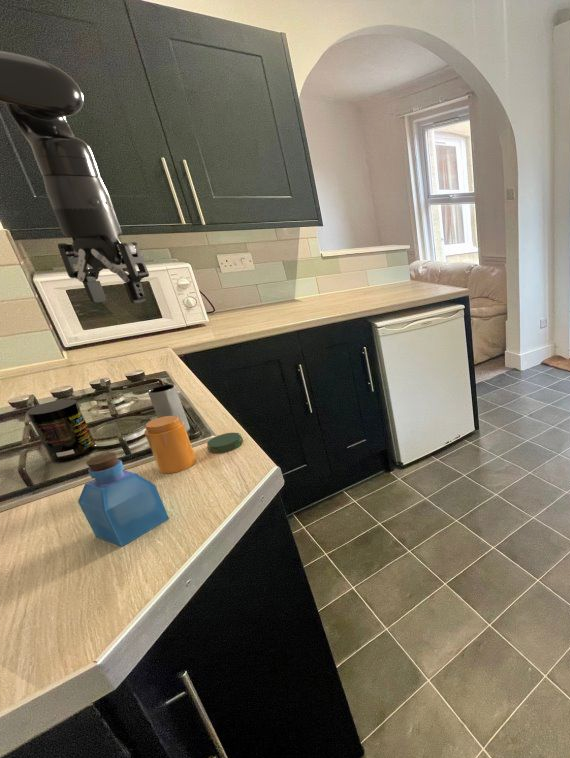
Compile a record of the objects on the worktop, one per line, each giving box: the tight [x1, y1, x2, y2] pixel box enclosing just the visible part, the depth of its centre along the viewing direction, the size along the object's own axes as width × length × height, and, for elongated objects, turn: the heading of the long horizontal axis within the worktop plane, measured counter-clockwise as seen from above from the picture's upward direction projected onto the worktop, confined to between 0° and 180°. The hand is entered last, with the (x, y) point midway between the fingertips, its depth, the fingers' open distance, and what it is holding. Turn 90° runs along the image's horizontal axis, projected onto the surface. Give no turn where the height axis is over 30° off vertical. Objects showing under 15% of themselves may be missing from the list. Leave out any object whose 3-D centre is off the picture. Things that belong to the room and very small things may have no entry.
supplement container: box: [26, 398, 97, 463], centre depth 81 cm, size 7×7×10 cm
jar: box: [143, 416, 197, 474], centre depth 77 cm, size 6×6×9 cm
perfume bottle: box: [77, 451, 170, 548], centre depth 60 cm, size 6×6×12 cm
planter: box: [147, 383, 191, 432], centre depth 89 cm, size 4×4×10 cm
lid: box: [206, 432, 244, 454], centre depth 84 cm, size 6×6×2 cm
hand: (118, 302), depth 77 cm, fingers open, 8 cm apart
